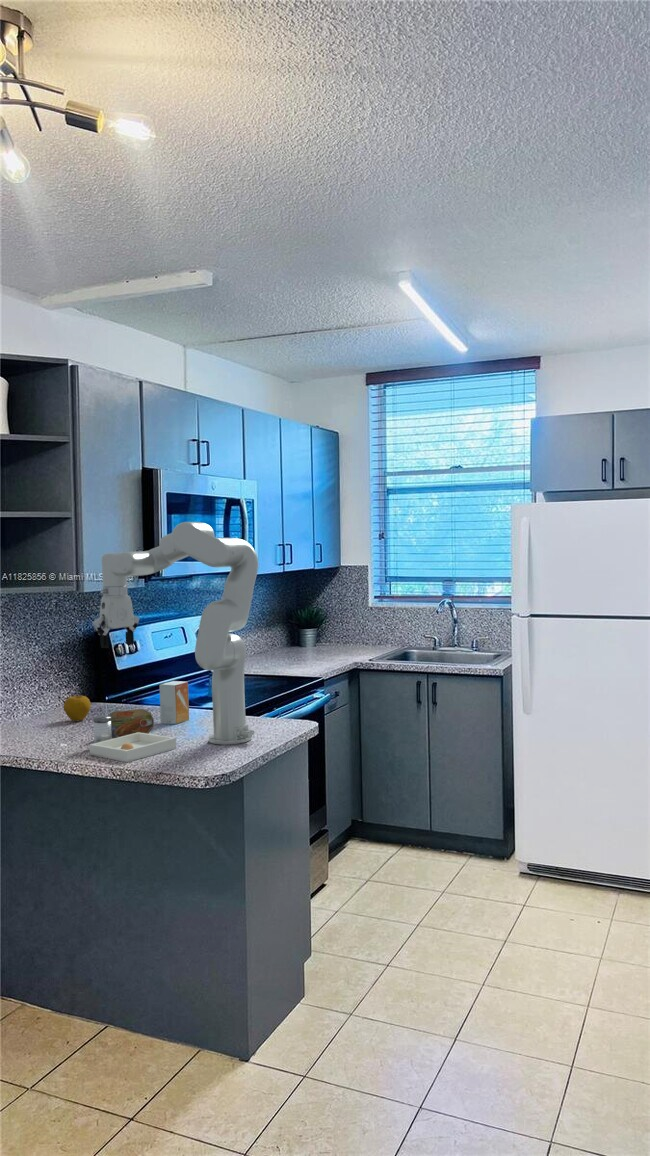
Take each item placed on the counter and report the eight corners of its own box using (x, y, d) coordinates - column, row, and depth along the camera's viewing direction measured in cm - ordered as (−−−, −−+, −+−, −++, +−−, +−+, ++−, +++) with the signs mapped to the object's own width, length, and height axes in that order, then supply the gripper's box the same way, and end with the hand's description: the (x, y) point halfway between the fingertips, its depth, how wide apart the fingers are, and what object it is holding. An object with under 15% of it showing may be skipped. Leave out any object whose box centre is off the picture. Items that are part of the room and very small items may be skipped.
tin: (104, 739, 257) (102, 712, 256) (104, 737, 260) (103, 710, 260) (154, 735, 260) (153, 708, 259) (154, 733, 263) (153, 707, 262)
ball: (136, 755, 232) (136, 742, 232) (126, 758, 229) (126, 745, 229) (128, 753, 234) (127, 741, 234) (118, 756, 231) (117, 743, 231)
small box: (176, 724, 276) (175, 685, 275) (160, 723, 278) (158, 684, 278) (190, 719, 283) (188, 681, 283) (174, 718, 286) (172, 680, 285)
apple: (74, 724, 281) (73, 697, 281) (58, 722, 287) (57, 695, 286) (96, 719, 288) (95, 693, 288) (80, 717, 294) (79, 691, 294)
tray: (176, 748, 242) (176, 737, 242) (127, 762, 227) (127, 751, 227) (139, 742, 251) (138, 732, 251) (89, 755, 237) (89, 744, 237)
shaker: (116, 746, 246) (115, 716, 246) (102, 750, 242) (100, 719, 242) (104, 744, 249) (103, 714, 249) (90, 748, 245) (89, 717, 245)
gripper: (99, 593, 256) (102, 649, 257) (144, 590, 270) (146, 643, 270) (84, 593, 261) (87, 648, 261) (129, 590, 274) (131, 642, 275)
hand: (117, 646), depth 266 cm, fingers open, 9 cm apart
